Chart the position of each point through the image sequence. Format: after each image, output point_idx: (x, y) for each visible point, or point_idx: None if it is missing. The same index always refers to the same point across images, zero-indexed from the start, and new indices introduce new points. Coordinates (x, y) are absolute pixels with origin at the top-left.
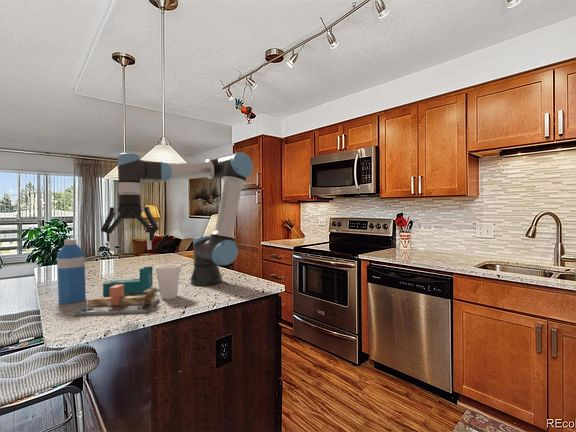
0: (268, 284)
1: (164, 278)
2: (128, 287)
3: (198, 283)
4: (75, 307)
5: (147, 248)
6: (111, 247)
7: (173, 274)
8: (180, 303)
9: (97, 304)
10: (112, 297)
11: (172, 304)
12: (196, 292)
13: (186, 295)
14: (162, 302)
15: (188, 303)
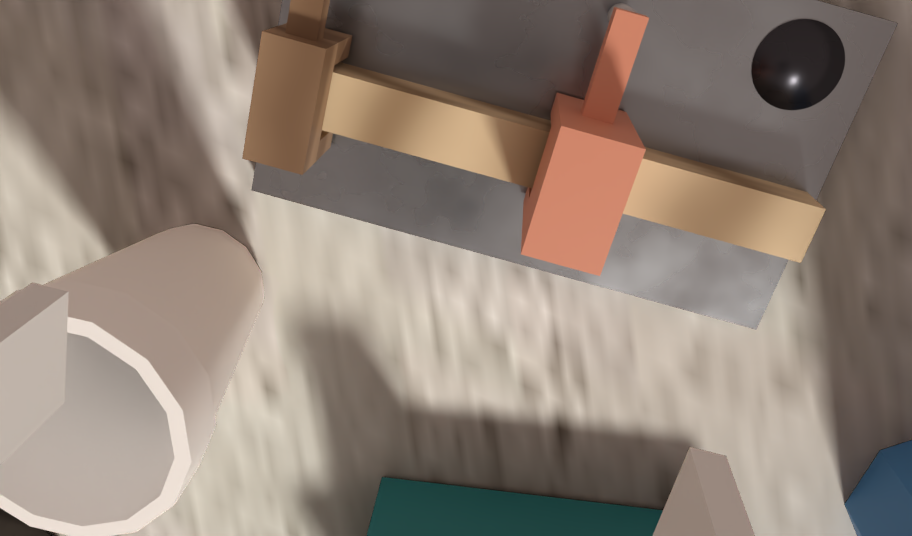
0: None
1: (134, 278)
2: (531, 533)
3: (11, 527)
4: (900, 287)
5: (52, 301)
6: (705, 488)
7: None
8: (74, 45)
9: (732, 172)
10: (603, 48)
11: (135, 42)
12: None
13: None
14: (228, 141)
15: (6, 16)
